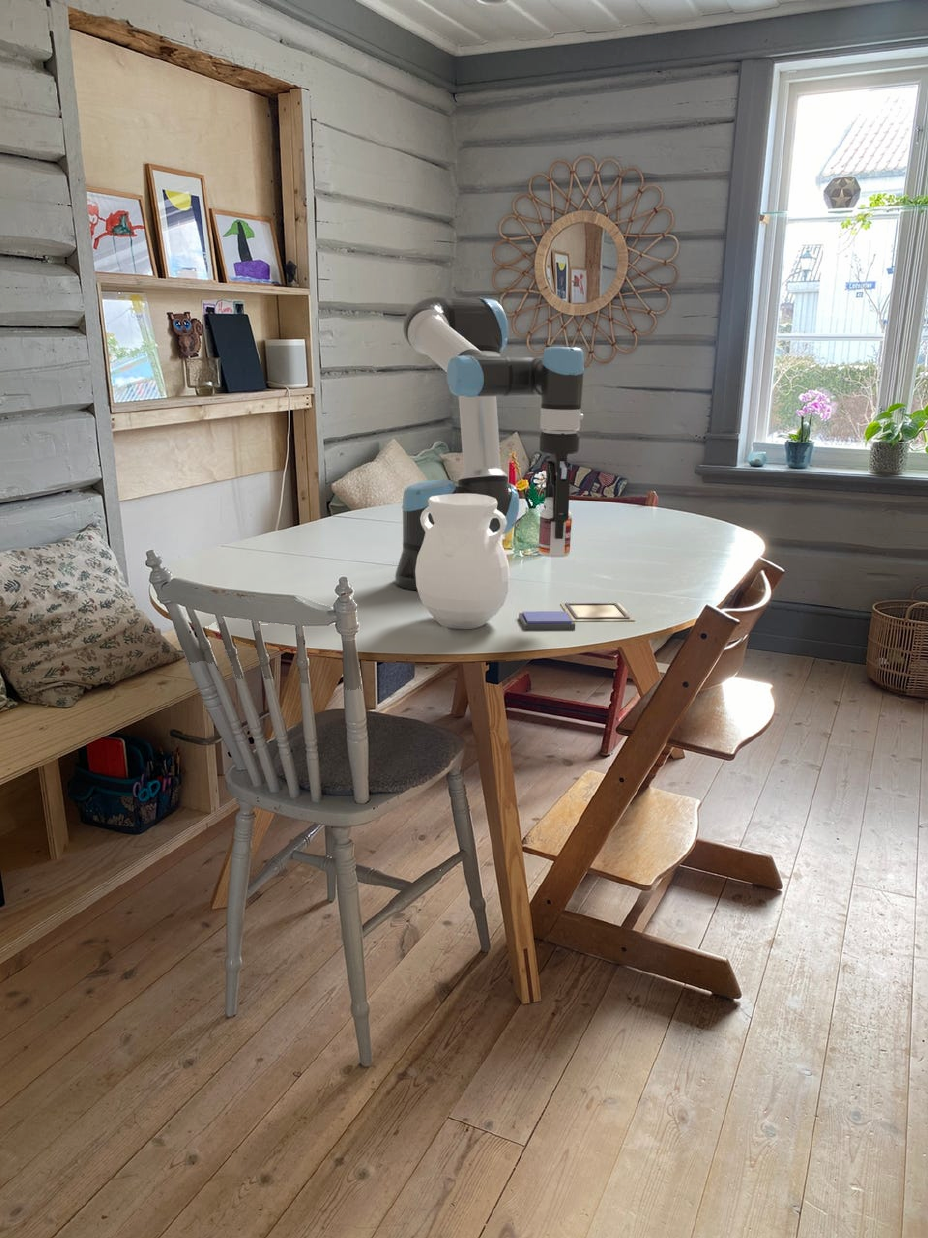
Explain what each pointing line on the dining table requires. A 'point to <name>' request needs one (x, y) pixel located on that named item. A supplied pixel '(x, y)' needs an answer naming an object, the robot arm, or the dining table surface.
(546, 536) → the pill bottle
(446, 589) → the white ceramic vase
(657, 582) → the dining table surface
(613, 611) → the cream flat square
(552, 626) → the ink pad
